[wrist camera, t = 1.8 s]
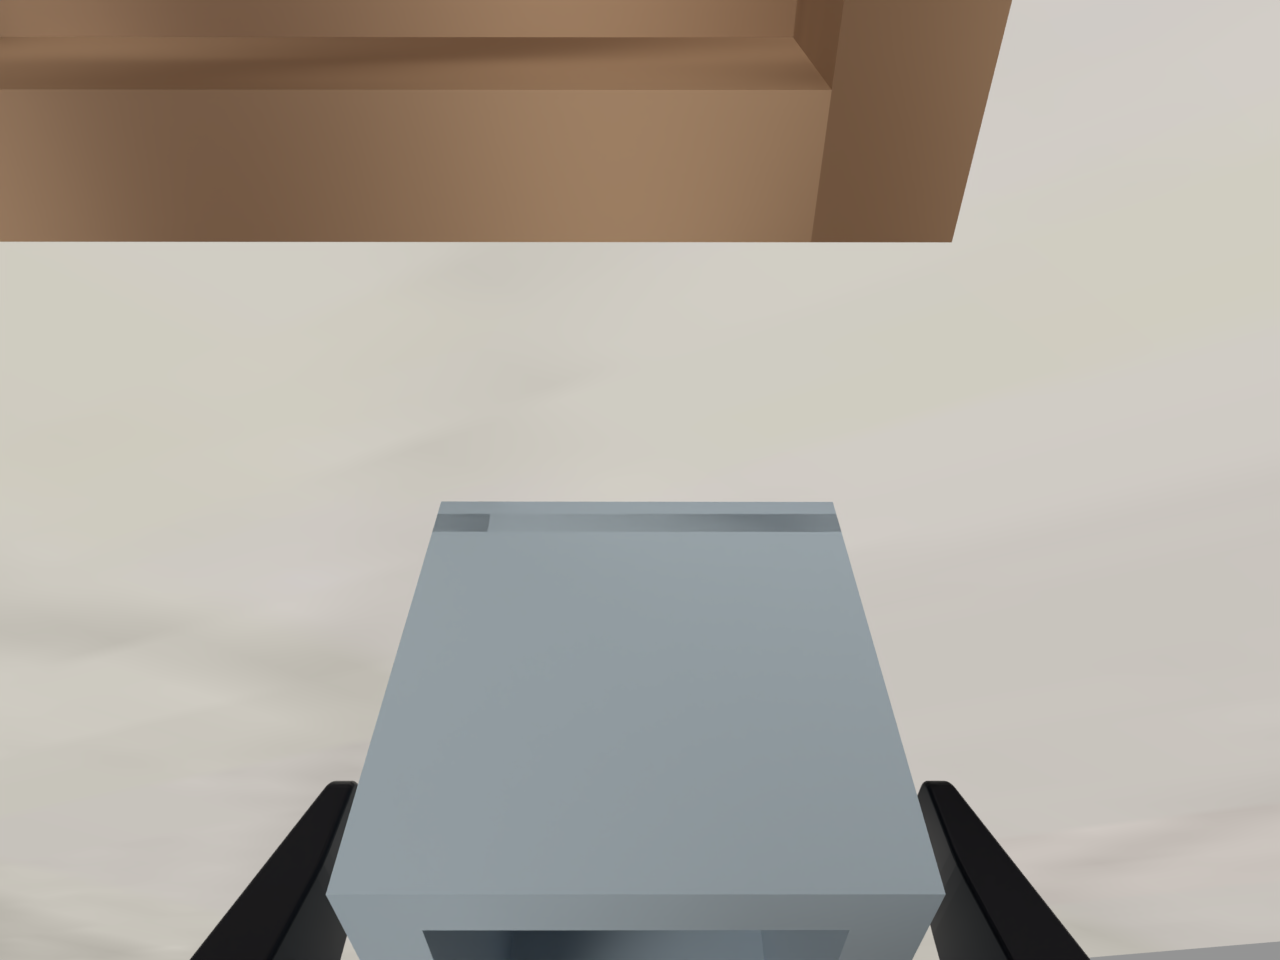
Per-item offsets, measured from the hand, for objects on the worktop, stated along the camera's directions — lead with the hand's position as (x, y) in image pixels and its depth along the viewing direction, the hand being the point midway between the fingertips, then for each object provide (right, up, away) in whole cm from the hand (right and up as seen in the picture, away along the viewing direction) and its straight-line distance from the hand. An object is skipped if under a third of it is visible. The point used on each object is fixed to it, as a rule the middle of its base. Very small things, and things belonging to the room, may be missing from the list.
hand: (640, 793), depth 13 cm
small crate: (0, +2, +2) cm, 3 cm away
